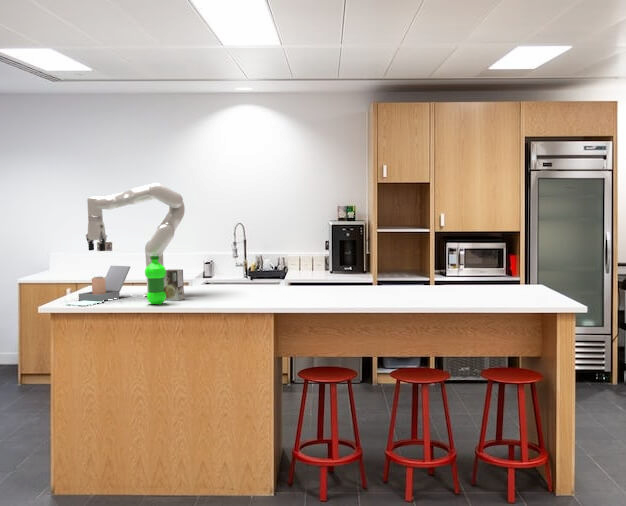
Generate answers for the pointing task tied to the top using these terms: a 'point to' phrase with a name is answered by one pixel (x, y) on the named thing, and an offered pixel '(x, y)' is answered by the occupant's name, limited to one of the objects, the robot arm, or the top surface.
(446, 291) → the top surface
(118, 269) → the case
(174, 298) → the coffee box
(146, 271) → the plastic bottle
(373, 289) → the top surface
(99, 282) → the block
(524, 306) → the top surface
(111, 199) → the robot arm
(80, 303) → the mat
